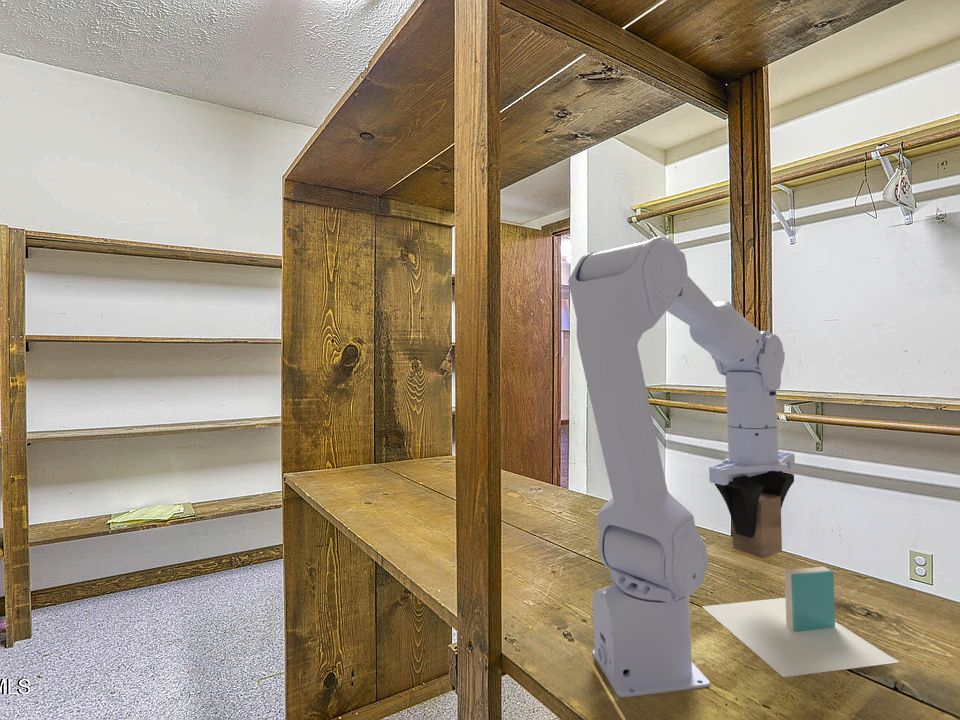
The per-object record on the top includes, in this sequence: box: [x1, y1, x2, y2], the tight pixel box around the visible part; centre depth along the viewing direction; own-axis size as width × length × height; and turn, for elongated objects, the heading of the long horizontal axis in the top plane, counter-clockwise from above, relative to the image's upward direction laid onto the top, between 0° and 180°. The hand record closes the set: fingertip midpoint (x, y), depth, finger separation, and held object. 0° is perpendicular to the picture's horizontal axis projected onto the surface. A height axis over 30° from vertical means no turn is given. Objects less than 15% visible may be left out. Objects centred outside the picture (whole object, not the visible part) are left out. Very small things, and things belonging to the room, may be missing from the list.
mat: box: [701, 597, 900, 678], centre depth 61 cm, size 13×15×1 cm
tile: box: [784, 566, 836, 632], centre depth 62 cm, size 5×2×6 cm, turn 97°
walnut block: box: [732, 492, 783, 559], centre depth 68 cm, size 4×4×7 cm
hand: (756, 531), depth 68 cm, fingers closed on walnut block, 4 cm apart
